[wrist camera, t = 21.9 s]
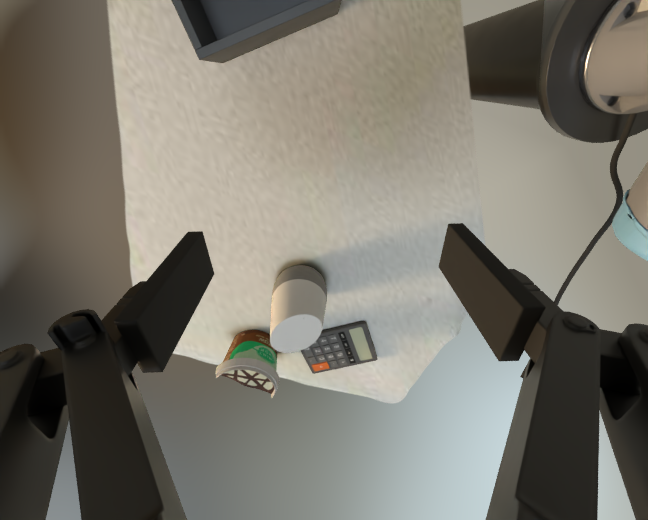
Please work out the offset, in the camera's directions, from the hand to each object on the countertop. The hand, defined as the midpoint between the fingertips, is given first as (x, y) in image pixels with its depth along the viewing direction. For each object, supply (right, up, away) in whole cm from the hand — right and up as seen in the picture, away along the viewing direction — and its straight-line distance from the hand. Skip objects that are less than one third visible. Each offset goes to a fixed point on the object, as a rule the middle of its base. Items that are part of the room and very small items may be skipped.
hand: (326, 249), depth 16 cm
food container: (-13, -17, +45) cm, 49 cm away
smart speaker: (-4, -4, +37) cm, 37 cm away
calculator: (+3, -19, +46) cm, 50 cm away
